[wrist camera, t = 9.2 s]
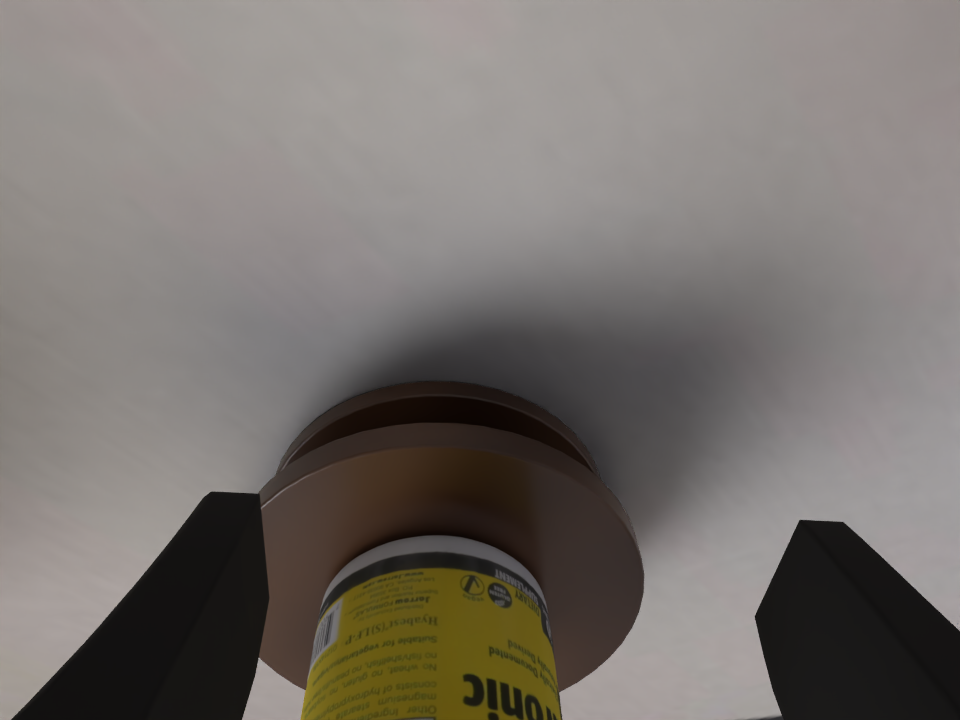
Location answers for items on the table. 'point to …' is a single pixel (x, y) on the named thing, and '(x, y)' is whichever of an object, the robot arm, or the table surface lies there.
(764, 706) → the table surface
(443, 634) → the supplement bottle
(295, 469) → the stand
